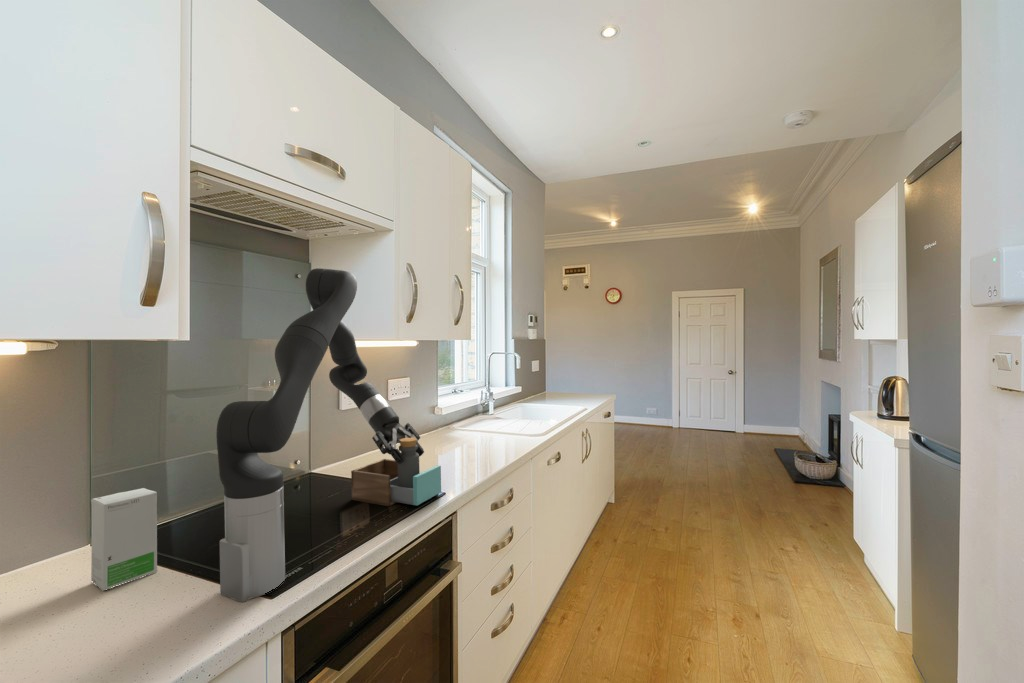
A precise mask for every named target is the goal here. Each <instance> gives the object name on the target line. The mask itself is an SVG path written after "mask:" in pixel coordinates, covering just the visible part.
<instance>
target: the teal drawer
mask: <svg viewBox="0 0 1024 683" xmlns="http://www.w3.org/2000/svg"><path fill="white" fill-rule="evenodd" d="M441 468H442V465H434V466H432V467H431V468H429V469H426V470H424V471H422V472H420V474H417V475H415V476H413V489H412V488H406V487H399V486H398V477H396V478H394V479H392V480H390V494H391V501H394V502H396V503H399V504H400V503H401V504H405V505H412V506H419V505H421V504H423V503H424V502H427V501H428V500H430V499H432V498H433V497H435V496H437V495H438V494H440V493H442V469H441Z"/></svg>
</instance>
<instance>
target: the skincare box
mask: <svg viewBox="0 0 1024 683" xmlns="http://www.w3.org/2000/svg"><path fill="white" fill-rule="evenodd" d="M157 494H158V493H157V491H156V490H152V489H151V490H150V489H147V488H145V487H141V488H137V489H133V490H127V491H121V492H117V493H112V494H108V495H104V496H100V497H93V498H92V499H90V502H91V574H90V576H91V581H93V583H95V584H96V585H97V586H98V587H99V589H100V588H101V589H102V590H101V589H100V590H101V591H103V590H106V589H109V588H111V587H113V586H116V585H119V584H122V583H125V582H128V581H131V580H134V579H137V578H140V577H142V576H145V575H148V576H150V575H149V574H151V575H154V574H157V572H158V537H157V536H158V524H157V523H158V519H157V518H158V511H157V510H158V509H157V508H158V506H157V505H158V504H157V503H158V502H157V500H158V495H157ZM153 573H154V574H153ZM145 577H146V576H145ZM142 578H143V577H142ZM140 579H141V578H140ZM137 580H138V579H137ZM134 581H135V580H134ZM131 582H132V581H131ZM93 583H92V584H93ZM96 585H95V586H96ZM97 586H96V587H97ZM98 587H97V588H98Z"/></svg>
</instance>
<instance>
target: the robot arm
mask: <svg viewBox="0 0 1024 683" xmlns="http://www.w3.org/2000/svg"><path fill="white" fill-rule="evenodd" d="M357 281H358V280H357V278H356V276H355V275H354V274H353V273H351V272H350V271H346V270H342V269H340V270H339V269H331V268H320V267H319V268H313V269H311V270H310V271H309V272H308V274H307V276H306V279H305V292H306V296H307V299H308V302H309V304H310V306H311V308H312V310H311V311H309V312H307V313H304V314H303V315H301V316H300V317H298V318H297V319H295V320H293V321H292V323H290V324H289V325H288V327H287V328H286V329H285V331H284V332H283V333H282V335H281V337H280V339H279V340H278V342H277V345H275V350H274V362H275V365H276V367H277V370H278V374H279V378H280V382H279V384H278V387H277V389H276V390H275V393H274V394H273V396H272V397H271V398H270V399H269V400H246V401H245V400H240V401H238V400H237V401H233V402H231V403H228V404H227V405H226V406H225V407H224V408H223V409H222V411H221V412H220V414H219V417H218V419H217V424H216V433H215V434H216V447H217V448H216V449H217V450H216V451H217V459H218V460H217V461H218V471H219V472H218V473H219V480H220V482H221V484H222V486H223V492H224V494H223V495H224V496H223V498H224V500H223V501H224V538H223V537H222V539H220V540H219V581H220V582H219V583H220V584H219V586H220V587H219V589H220V593H219V594H220V595H222V596H224V597H227V598H230V599H233V600H235V601H238V602H241V603H243V602H246V601H248V600H251V599H254V598H257V597H261V596H264V595H266V594H265V593H267V592H269V591H271V590H272V589H275V588H276V587H278V586H279V585H280V584H281V583H282V582H283V581H284V582H285V579H286V556H285V554H286V553H285V552H286V551H285V550H286V548H285V547H286V546H285V544H286V543H285V542H286V541H285V501H284V499H285V496H284V495H285V494H284V492H285V490H284V489H285V488H284V472H283V471H282V470H281V468H278V467H276V466H274V465H271V464H269V463H268V462H265V461H264V460H263V459H262V458H261V457H260V455H259V454H269V453H275V452H278V451H280V450H282V449H283V448H284V447H285V445H286V444H287V443H288V441H289V439H290V438H291V435H292V433H293V431H294V429H295V426H296V423H297V421H298V417H299V414H300V411H301V408H302V406H303V403H304V401H305V398H306V394H307V392H308V390H309V387H310V385H311V383H312V380H313V378H314V377H315V374H316V372H317V370H318V369H319V366H320V364H321V363H322V361H323V359H324V357H325V355H326V352H327V351H328V349H329V353H330V357H331V360H332V361H333V363H334V364H335V365H336V366H334V367H332V368H331V369H330V371H329V375H328V378H329V381H330V382H331V384H332V385H333V386H334V387H335V388H336V389H338V391H340V392H341V393H343V394H345V395H346V396H347V397H348V398H350V399H351V400H352V401H353V403H354V404H355V405H356V407H357V408H358V409H359V411H360V412H361V415H363V418H364V419H365V420H366V421H367V423H368V425H369V426H370V427H371V429H372V430H373V431H374V433H375V434H374V435H373V437H371V438H372V440H373V442H374V443H375V446H377V448H378V449H379V451H380V453H381V454H383V455H385V454H388V455H391V457H392V458H393V460H395V461H396V462H397V463H398V464H402V463H403V461H404V460H405V458H404V457H403V455H402V454H401V451H399V448H397V444H400V441H399V440H400V439H403V438H416V439H417V441H416V445H418V449H417V450H416V453H418V454H419V458H420V457H421V456H423V455H424V453H425V451H424V448H423V447H422V446H421V444H420V443H419V442H418V441H419V440H420V439H421V435H419V433H418V432H417V431H416V430H415V429H414V428H413V426H412V425H411V424H410V423H409V422H408V423H406V424H405V425H402V424H400V416H399V415H397V413H396V412H395V411H394V409H393V408H392V406H391V405H390V404H389V403H388V401H387V400H386V399H385V398H384V397H383V396H382V395H381V394H380V392H379V391H378V390H377V388H376V387H375V386H374V385H373V384H372V383H371V382H369V381H367V382H361V383H359V382H360V381H362V380H364V379H365V378H366V377H367V374H368V368H367V367H366V365H365V363H364V362H363V360H362V359H361V357H360V355H359V353H358V350H357V344H356V339H355V335H354V334H353V332H352V330H351V329H350V328H349V326H348V325H347V324H346V323H345V322H344V321H343V319H344V317H345V315H346V314H347V312H348V311H349V309H351V308H350V307H352V305H353V302H354V300H355V298H356V294H357V291H358V282H357ZM356 383H357V384H356ZM284 582H283V583H284ZM283 583H282V584H283ZM282 584H281V585H282ZM281 585H280V586H281ZM280 586H279V587H280ZM279 587H278V588H279ZM276 589H277V588H276ZM276 589H275V590H276ZM271 592H272V591H271ZM269 593H270V592H269ZM267 594H268V593H267Z"/></svg>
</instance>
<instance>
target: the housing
mask: <svg viewBox="0 0 1024 683" xmlns="http://www.w3.org/2000/svg"><path fill="white" fill-rule="evenodd" d="M350 471H351V472H350V473H351V474H350V475H351V476H350V478H351V500H352V501H357V502H363V503H368V504H373V505H380V506H383V507H384V506H385V507H390V506H392V505H394V504H397V502H394V501H391V494H390V480H392V479H394V478H396V477H398V463H397V462H396V461H395V460H394V459H389V458H388V459H387V458H382V459H379V460H378V461H375V462H373V463H369V464H366V465H364V466H362V467H359V468H356V469H353V470H350Z"/></svg>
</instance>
